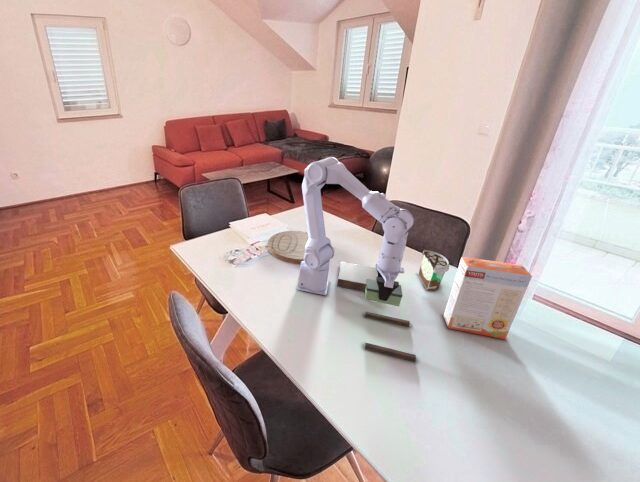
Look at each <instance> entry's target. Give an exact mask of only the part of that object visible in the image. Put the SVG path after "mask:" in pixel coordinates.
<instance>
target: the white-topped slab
mask: <svg viewBox="0 0 640 482" xmlns="http://www.w3.org/2000/svg"><path fill="white" fill-rule="evenodd" d="M338 270H339V271H338V277H337V287H341V288H345V289H351V290H355V291H360V292H365V288H366V283H367V278H368V279H373V280H376V277H378V272H377V269H376V266H370V265H363V264H358V263H352V262H346V261H342V260H341V261H340V263H339V269H338Z"/></svg>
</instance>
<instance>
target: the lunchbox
mask: <svg viewBox="0 0 640 482" xmlns="http://www.w3.org/2000/svg"><path fill="white" fill-rule="evenodd" d="M378 293H379V288H378V284H377V281H376V280H373V279H368V278H367V283H366V288H365V291H364V300H366V301H371V302H374V303H375V302H376V303H380V304H385V305H389V306H394V307H397V308H398V307H400V305H401V301H402V298H403V289H402V284H399V286H398V288H396V289H395V290H394V291H393V292H392V293H391V295H390V297H389V298H388V300H387V301H383V300H379V295H378Z"/></svg>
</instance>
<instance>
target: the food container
mask: <svg viewBox="0 0 640 482" xmlns="http://www.w3.org/2000/svg"><path fill="white" fill-rule="evenodd" d="M421 254H422V255H421V261H420V264H419V265H420V266H419V270H418V274H417V275H418V277H419V279H420V281H421V283H422V284H423V286H424V288H425V290H426V291H436V290H438V289H439V287H440V285H441V283H442V280H443V278H444V276H445V273H446V272H448V271H449V270H450V262H449V260H448V258H447V257H446V256H444V255H443V254H440V253H438V252H436V251H433V250H428V249H423V251H422V253H421Z"/></svg>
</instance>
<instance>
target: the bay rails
mask: <svg viewBox="0 0 640 482" xmlns="http://www.w3.org/2000/svg"><path fill="white" fill-rule="evenodd" d="M364 317H365V318H368V319H373V320H377V321H382V322H384V323H391V324H395V325H398V326H399V325H400V326H404V327H407V328H409V327H410V325H411V322H410V320H406V319H402V318H398V317H393V316H389V315H384V314H380V313H375V312H372V311H371V312H370V311H364ZM364 349H365V350H368V351H372V352H374V353H379V354H383V355H388V356H391V357H394V358H399V359H403V360H407V361H411V362H416V360H417V356H416V354H414V353H409V352H405V351H402V350H398V349H397V350H396V349H395V348H394V349H393V348H390V347H385V346H381V345H377V344H373V343H370V342H365V343H364Z"/></svg>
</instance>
